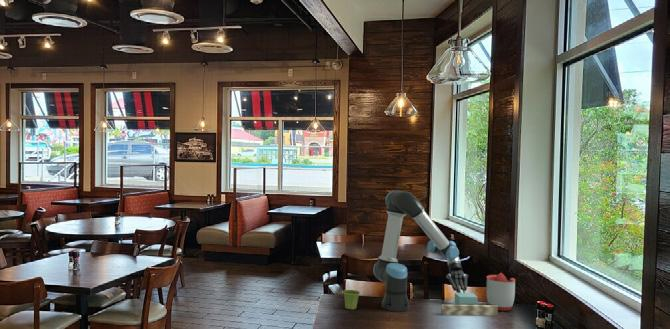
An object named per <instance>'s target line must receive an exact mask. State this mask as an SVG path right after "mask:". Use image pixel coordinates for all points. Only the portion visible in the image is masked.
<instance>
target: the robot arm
mask: <svg viewBox="0 0 670 329" xmlns="http://www.w3.org/2000/svg"><path fill="white" fill-rule="evenodd" d="M385 205H386V213H387V214H388V215H387V221H386V226H385V232H384V238H383V245H382V250H381V255H379V256H378V259H377V261H376V262H375V264H373V265H374V266H373V269H372V270H373V275H374V276H375V278H376V279H377V280H379V281H380V282H382V283H384V284H385V292H384V296H383V299H382V301H381V308H383V310H386V311H390V312H400V313H401V312H406V311H409V310H410V302H409V299H408V295H407V290H408V289H407V288H408V267H407V266H405V265H404V264H401V263H399V260H398V259H397V254H398V248H399V242H400V236H401V232H402V225H403V220H404V217H406V216H408V217H410V219H413V220H414V221H415V222H416V223H417V225H418V226H419V227H420V228H421V230H423V232H424V233H425V234H426V236H427V237H428V238H429V239H430V240H429V241H428V242H427V246H426V249H427V250H426V251H428V253H430V254H431V253H432V254H434V255H438V256H441V257H444V258H445V259H446V261H447V267H448V270H449V271H448V272H449V273H447V274H446V276H445V278H446V279H447V280H448V282H449V284H450V285H451V288H452V290H453V291H456V292H455V293H466V291H467V290H468V278H469V274H466V273H464V271H463V268H462V267H463V266H462V264H461V263H462V262H461V259H460V256H459V255H460V250H459V249H458V247H457V244H456V242H454V241H453V240H448V238H447V237H446V236H445V234H444V233H443V232H442V231H441V230H440V228H439V227H438V226H437V224H436V223H435V222H434V221H433V219H432V218H431V217H430V215H428V213H427V212H426V211H425V207H424V205H423V204H422V203H421V202H420V201H419V199H418V198H417V197H416V195H414V194H413V193H411V192H409V191H407V190H405V191H404V190H399V189H397V190H391V191H390V192H388V193H387V195H386V196H385Z"/></svg>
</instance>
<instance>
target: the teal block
mask: <svg viewBox="0 0 670 329" xmlns="http://www.w3.org/2000/svg"><path fill="white" fill-rule="evenodd" d="M478 299H479V298H478V296H477V295H476V294H474V293H473V292H465V293H457V292H454V304H453V305H479V304H478V303H479V302H478V301H479V300H478Z"/></svg>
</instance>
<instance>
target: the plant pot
mask: <svg viewBox="0 0 670 329" xmlns="http://www.w3.org/2000/svg"><path fill="white" fill-rule="evenodd" d="M342 294H343V298H344V308H345V309H347V310H356V309H357V308H358V306H357V305H358V302H359V296H360V294H361V292H360V290H359V291H358V290H354V289H345V290H343V291H342Z"/></svg>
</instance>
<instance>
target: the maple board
mask: <svg viewBox="0 0 670 329" xmlns="http://www.w3.org/2000/svg"><path fill="white" fill-rule="evenodd" d="M498 312H499V310H498V306H497V305H489V304H488V305H487V304H483V305H482V304H478V305H454V304H441V312H440V313H441V315H443V316H471V317H472V316H479V317H480V316H482V317H483V316H485V317H486V316H487V317H488V316H489V317H498V316H499V315H498V314H499V313H498Z"/></svg>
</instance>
